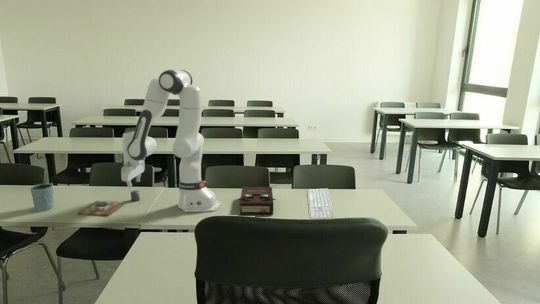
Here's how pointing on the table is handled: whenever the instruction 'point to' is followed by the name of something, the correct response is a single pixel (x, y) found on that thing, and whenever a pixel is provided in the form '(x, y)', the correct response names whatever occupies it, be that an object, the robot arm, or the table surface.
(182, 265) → the table surface
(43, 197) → the blue cup
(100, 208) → the board
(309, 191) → the keyboard
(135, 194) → the black cap
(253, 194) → the decorative book
